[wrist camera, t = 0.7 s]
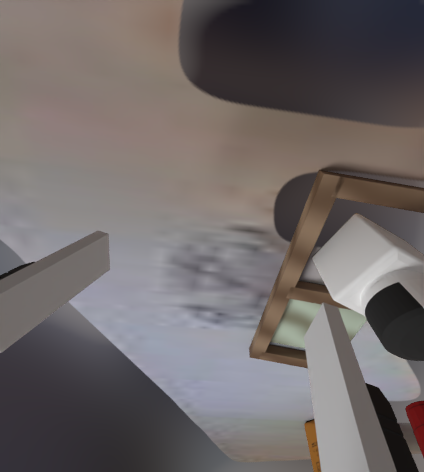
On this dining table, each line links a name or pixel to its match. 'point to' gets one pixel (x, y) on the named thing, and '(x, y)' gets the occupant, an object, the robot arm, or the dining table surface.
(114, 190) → the dining table surface
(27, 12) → the dining table surface
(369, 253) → the medicine bottle
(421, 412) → the plastic cup
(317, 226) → the wooden tray frame
